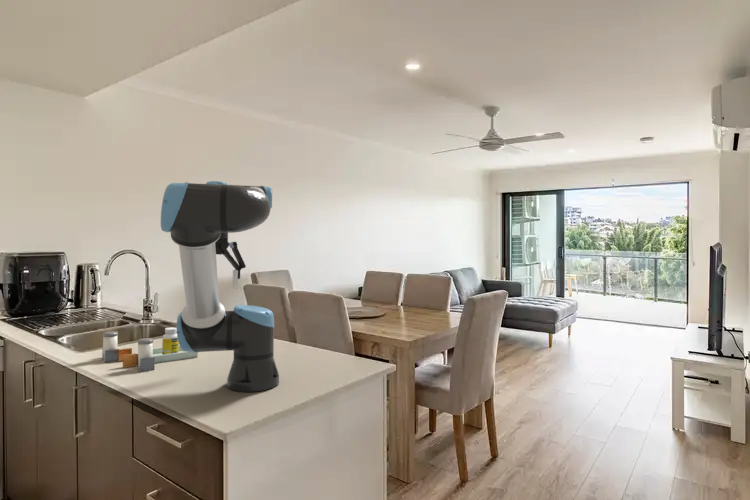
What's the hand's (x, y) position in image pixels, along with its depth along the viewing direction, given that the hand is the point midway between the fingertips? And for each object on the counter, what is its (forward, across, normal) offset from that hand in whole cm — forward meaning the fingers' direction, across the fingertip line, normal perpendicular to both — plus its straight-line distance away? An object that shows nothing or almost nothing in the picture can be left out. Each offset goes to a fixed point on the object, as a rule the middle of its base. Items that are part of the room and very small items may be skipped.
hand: (215, 289), depth 156 cm
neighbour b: (+26, +27, -29) cm, 47 cm away
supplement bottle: (+25, +9, -20) cm, 34 cm away
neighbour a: (+26, +19, -11) cm, 34 cm away
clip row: (+26, +23, -20) cm, 40 cm away
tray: (+26, +9, -20) cm, 34 cm away
